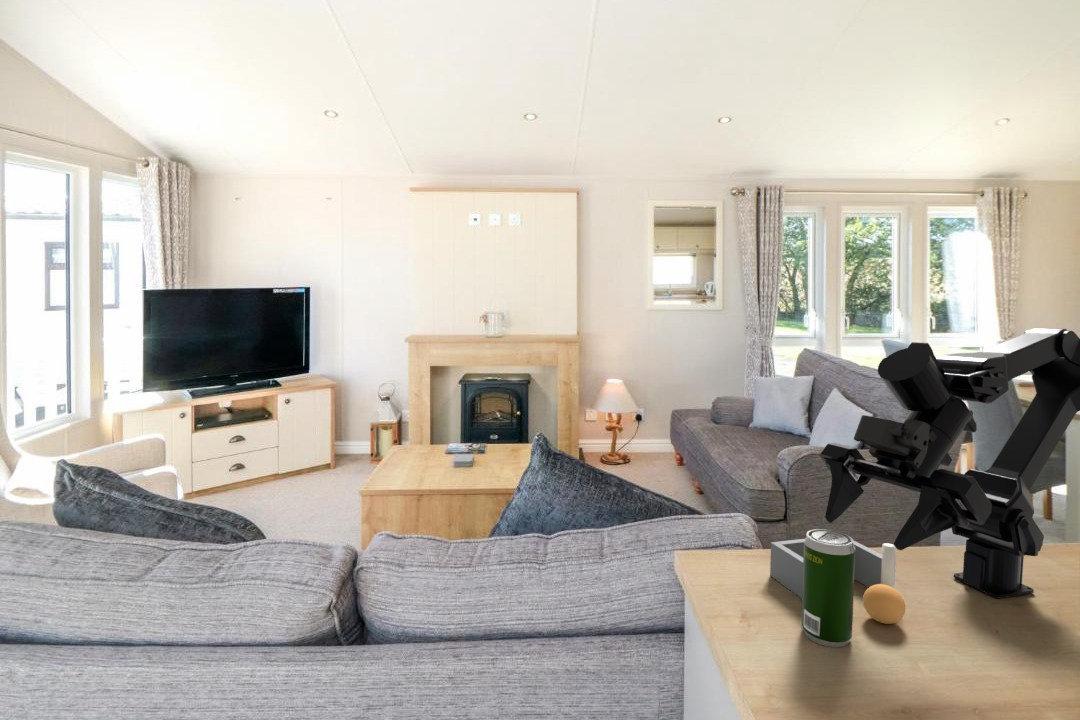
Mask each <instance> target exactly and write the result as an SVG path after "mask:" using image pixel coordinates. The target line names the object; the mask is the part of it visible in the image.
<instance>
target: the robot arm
mask: <svg viewBox="0 0 1080 720" xmlns="http://www.w3.org/2000/svg"><path fill="white" fill-rule="evenodd" d="M933 351H934V350H933V348H932V347H931V345H930V344H929V342H916V341H915V342H913V341H911V343H910V344H909V345H908V347H905V348H901V349H898V350H897V351H894V352H892V353H890V354H889V355H888V356H887V357H884V358H883V359H881V361H880V362H879V364H878V366H877V374H878V375H879V377H880V378H881V380H882V381H883V382H884V384H885V386H886V387H887V389H888V390H889V391H890V393H891V395H892V396H893V398H894V399H895V400H896V402H897V404H898V405H899V406H900V407H901V408H903V409H904V410H907V411H910V413H909V414H908V415H907V417H906V419H905V420H904V421H903V422H899V421H895V420H892V419H887V418H881V417H877V416H871V415H864V414H862V415H861V417H860V420H859V422H858V425H857V428H856V431H855V433H854V436H853V440H854V441H856V442H860V443H864V444H865V445H867V446H868V447H870V448H869V449H868V453H869V454H870V455H871V457H873V458H876V460H877V461H876V463H875V462H871V461H868V460H866V459H865V457H864V456H863V455H862V453H860V451H859V449H858V448H856V447H855V446H854V447H853V446H849V445H844V444H841V443H837V442H832V443H830V442H829V443H827V444H826V445H825V447H824V448H823V449H822V451H821V452H820V454H819V455H818V456H819V458H820V459H821V460H822V461H823V463H824V466H825V467H826V468H827V469H828V470H829V471H830V475H831V485H830V493H829V496H828V501H827V506H826V510H825V516H824V518H825V520H826V521H827V522H828V523H831V524H832V523H833V522H834V521H835V520H837V519H838V518H839V517H841V516H842V515H843V513H844V512H845V511H847V510H848V509H849V507H850V506H852V504H854V502H855V501H857V500H858V498H860V497H861V495H862V494H863V493H864V492H865V490H864V489H863V486H866V485H868V484H869V483H870V481H871V480H877V481H880V482H883V483H887V484H889V485H893V486H896V487H900V488H904V489H907V490H911V491H915V492H917V493H919V497H918V498H919V499H918V503H917V506H916V507H915V508H914V510H913V511H912V513H910V516H909V518H907V520H906V522H905V523H904V525H903V526H902V528H901V529H900V530H899V533H898V534H897V535H896V538H895V540H894V542H893V545H894V546H895V547H896V550H898V551H903V550H905V549H908V548H909V547H911V546H913V545H915V544H918V543H919V542H921V541H924V540H925V539H928V538H930V537H931V536H934V535H937V534H939V533H941V532H944V531H946V530H950V529H951V532H952V534H953V535H956V536H960V537H963V538H966V539H965V551H964V552H963V563H962V564H963V567H962V572H955V573H953V578H954V579H956V580H959V581H960V582H963V583H964V584H966V585H969V586H971V587H973V588H975V589H977V590H979V591H981V592H983V593H985V594H988V595H990V596H991V597H993V598H996V599H1003V598H1009V597H1016V596H1023V595H1028V594H1029V595H1030V594H1034V592H1035V589H1034V588H1032V587H1031V586H1029V585H1026V584H1024V583H1023V571H1024V560H1025V559H1024V556H1029V557H1039V552H1041V549H1042V547H1043V544H1044V538H1045V535H1044V533H1043V532H1042V531H1041V529H1040V527H1039V526H1038V524H1037V523H1036V521H1035V520H1034V518H1033V517H1034V514H1035V508H1034V505H1033V500H1032V497H1031V493H1030V490H1031V489H1032V487H1033V485H1035V484H1034V483H1035V482H1036V481H1037V478H1038V477H1039V475H1040V473H1041V472H1042V471H1043V468H1044V467H1045V466H1046V464H1047V462H1048V460H1049V459H1050V457H1051V455H1052V454H1053V452H1054V451H1055V449H1056V447H1057V446H1058V444H1059V442H1060V440H1061V439H1062V437H1063V435H1064V434H1065V432H1066V430H1067V429H1068V427H1070V424H1071V422H1072V421H1073V419H1074V418H1075V415H1076V414H1077V413H1078V412H1080V337H1079V336H1078V335H1077V334H1076V333H1075V332H1074V331H1073V330H1069V329H1067V328H1045V327H1044V328H1043V327H1039V328H1037V327H1036V328H1035V327H1033V328H1031V329H1027V330H1025V331H1024V333H1023V334H1020V335H1018V336H1016V337H1013V338H1010V339H1008V340H1006V341H1004V342H1002V343H999V344H996V345H994V346H991V347H989V348H986V349H984V350H982V351H977V352H958V353H949V354H942V355H938V356H937V357H936V356H935V354H934V352H933ZM1026 373H1030V374H1031V380H1032V383H1033V385H1034V390H1035V392H1036V393H1035V395H1034V397H1033V398H1032V399H1031V402H1030V403H1029V405H1028V406H1027V408H1026V410H1025V411H1024V412H1023V415H1022V416H1021V418H1020V419H1019V421H1018V422H1017V424H1016V426H1015V427H1014V429H1012V431H1011V433H1010V435H1009V436H1008V438H1007V440H1006V441H1005V443H1004V445H1003V446H1002V448H1001V449H1000V451H999V453H998V454H997V456H996V457H995V459H994V461H993V462H992V464H991V465H990V466H989V468H988V469H986V470H984V471H981V470H977V469H972V468H969V469H968V470H967V471H965V473H959V472H956V471H952V470H947V469H943V468H940V469H939V467H940V466H941V465H942V466H947V467H948V466H950V465H951V463H952V462H953V458H952V457H951V455H950V454H949V453H950V451H951V450H952V448H953V446H954V445H955V443H956V442H957V440H959V438H960V436H961V434H962V432H969V433H976V432H977V430H978V429H977V427H978V425H977V422H976V420H975V419H974V411H973V410H970V409H969V408H968V405H967V404H966V402H973V403H979V404H986V405H987V404H992V403H993V402H995V401H996V400H998V399H999V398H1001V396H1003V395H1004V394H1005V393H1007V392H1008V391H1009V389H1010V388H1009V383H1010V381H1012V380H1013V379H1015V378H1018V377H1020V376H1022V375H1024V374H1026ZM964 401H965V402H964Z"/></svg>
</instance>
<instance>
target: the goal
mask: <svg viewBox="0 0 1080 720" xmlns="http://www.w3.org/2000/svg"><path fill="white" fill-rule="evenodd" d="M804 540H805V538H799V539H788V540H781V541H772V542H770V563H769V564H770V565H769V566H770V568H769V569H770V570H769V571H770V572H769V576H770V577H771V576H772V577H773V579H774V580H775V579H776V581H777V582H778V583H779V582H780V583H779V584H781V586H783V585H784V587H785V588H787V589H788V590H789V591H790V590H791V591H790V592H792V593H793V592H794V593H793V594H794V595H796V594H797V595H798V596H797V595H796V596H797V597H798V598H800V599H801V598H802V589H803V557H804ZM853 545H854V547H855V570H854V581H857V582H858V581H859V583H860V584H861V585H863V584H864V586H866V587H867V588H868V587H870V586H873V585H876V584H884V585H888V586H890V587H892V588H894V589H895V590H896V588H895V587H896V586H895V585H896V567H897V566H896V565H897V549H896V547H895V546H894V543H893V544H892V543H888V542H887V543H886V542H885V543H882V544H881V545H882V546H881V547H882V548H881V553H879V552H877V551H875V550H873V549H872V548H869V547H867V546H865V545H864V544H861V543H859V542H858V541H856V540H854V539H853ZM772 577H771V578H772Z"/></svg>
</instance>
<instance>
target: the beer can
mask: <svg viewBox="0 0 1080 720" xmlns="http://www.w3.org/2000/svg"><path fill="white" fill-rule="evenodd" d="M804 539H805V540H804V557H803V589H802V599H801V624H800V625H801V627H802V631H803V633H804V635H805V636H806V637H807V638H808V639H809V640H811V641H812V642H813V643H816V644H818V645H822V646H825V647H828V648H829V647H830V648H841V647H845V646H847V645H848V644H849V643H850V641H851V640H852V637H853V619H854V618H853V617H854V616H853V615H854V594H855V593H854V590H855V579H854V570H855V547H854V545H853V540H854V539H853V537H852V536H850V535H848V534H846V533H843V532H842V531H836V530H834V529H833V530H832V529H825V528H816V529H811V530H808V531H806V534H805V538H804Z"/></svg>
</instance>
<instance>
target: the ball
mask: <svg viewBox="0 0 1080 720" xmlns="http://www.w3.org/2000/svg"><path fill="white" fill-rule="evenodd" d="M862 605H863V607H864V611H866V613H867V615H869V617H871V618H872V619H873V620H875V621H877V622H878V623H881V624H886V625H889V624H890V625H893V624H896V623H898V622H900V621H901V620H902V618H903V617H905V616H904V615H905V613H906V603H905V599H904V597H903V595H902V594H901V592H899V591H898V590H897V589H896V588H895V589H894V588H892V587H890V586H888V585H884V584H876V585H873V586H870V587H869V588H868V587H867V589H866V590H865V591H864V594H863V596H862Z"/></svg>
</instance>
